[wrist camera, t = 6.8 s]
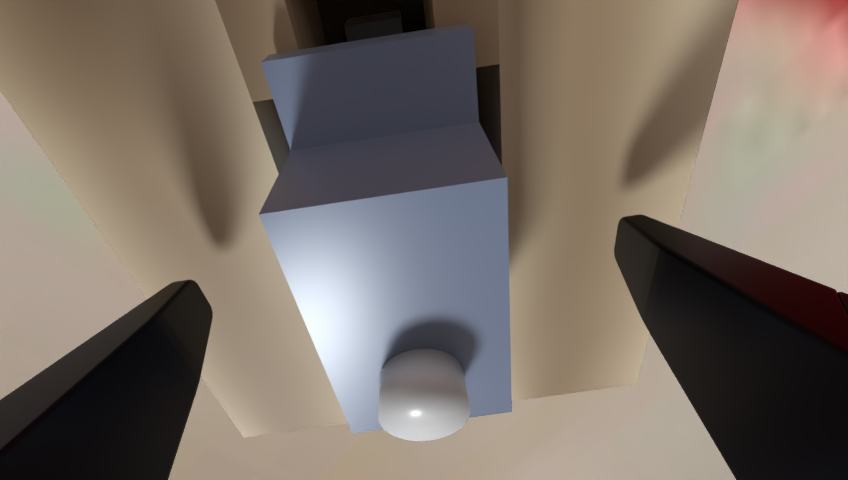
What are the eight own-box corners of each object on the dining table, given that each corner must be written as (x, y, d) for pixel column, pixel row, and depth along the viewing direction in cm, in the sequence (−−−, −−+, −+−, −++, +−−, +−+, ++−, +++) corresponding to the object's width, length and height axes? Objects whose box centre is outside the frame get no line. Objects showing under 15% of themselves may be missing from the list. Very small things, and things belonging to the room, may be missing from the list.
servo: (446, 2, 10) (522, 76, 4) (471, 279, 15) (521, 485, 9) (302, 25, 10) (184, 129, 4) (375, 293, 15) (365, 505, 9)
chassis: (679, -198, 8) (808, -263, 6) (598, 317, 16) (636, 384, 14) (20, -88, 8) (-136, -105, 6) (266, 363, 16) (243, 437, 14)
